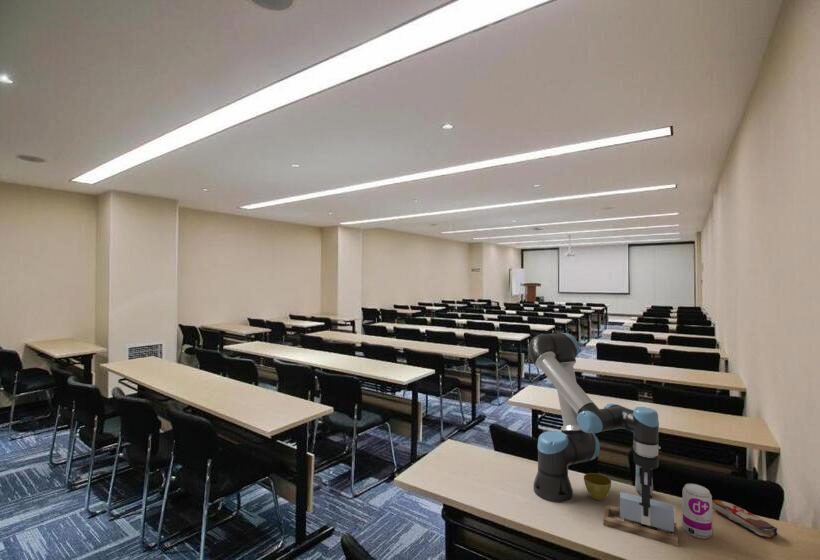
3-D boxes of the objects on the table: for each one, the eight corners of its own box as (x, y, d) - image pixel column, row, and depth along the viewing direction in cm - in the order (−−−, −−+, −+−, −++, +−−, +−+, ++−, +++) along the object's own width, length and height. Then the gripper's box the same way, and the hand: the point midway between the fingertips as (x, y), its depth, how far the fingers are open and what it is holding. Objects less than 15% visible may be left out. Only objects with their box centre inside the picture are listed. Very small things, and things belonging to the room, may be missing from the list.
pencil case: (734, 508, 152) (734, 495, 152) (784, 541, 132) (784, 526, 133) (706, 509, 152) (706, 495, 152) (752, 542, 132) (752, 527, 132)
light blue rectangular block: (619, 522, 141) (619, 497, 141) (620, 516, 145) (620, 491, 145) (673, 537, 133) (673, 511, 133) (673, 530, 137) (673, 504, 137)
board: (603, 524, 141) (603, 519, 141) (606, 509, 150) (606, 504, 150) (678, 546, 130) (677, 540, 130) (676, 528, 139) (676, 523, 139)
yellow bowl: (578, 493, 162) (578, 475, 163) (596, 488, 166) (596, 471, 166) (598, 505, 153) (598, 487, 153) (617, 500, 157) (617, 482, 157)
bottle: (656, 498, 159) (656, 448, 159) (638, 496, 160) (638, 446, 160) (649, 489, 165) (649, 441, 165) (632, 488, 166) (632, 440, 167)
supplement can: (713, 542, 131) (713, 497, 132) (683, 534, 136) (683, 490, 136) (710, 529, 138) (710, 486, 138) (681, 522, 143) (681, 480, 143)
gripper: (658, 465, 130) (658, 537, 130) (658, 447, 145) (658, 511, 144) (632, 460, 134) (632, 530, 133) (634, 442, 149) (634, 505, 148)
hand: (645, 520), depth 139 cm, fingers closed on light blue rectangular block, 4 cm apart
